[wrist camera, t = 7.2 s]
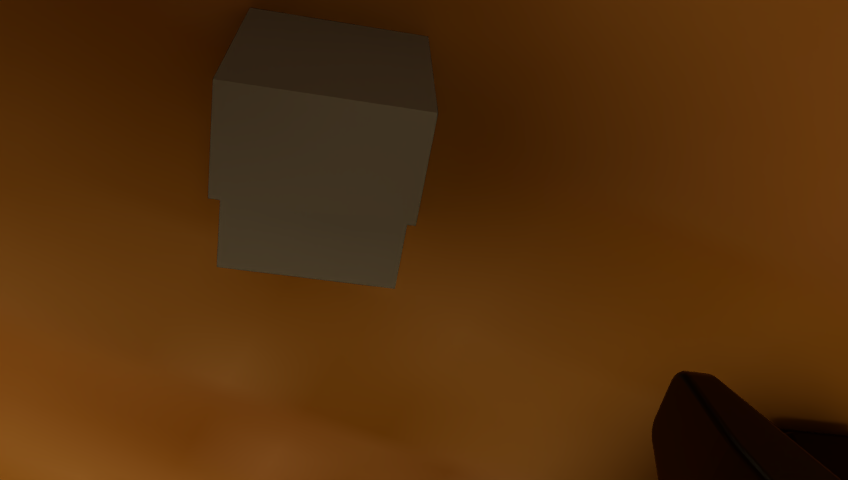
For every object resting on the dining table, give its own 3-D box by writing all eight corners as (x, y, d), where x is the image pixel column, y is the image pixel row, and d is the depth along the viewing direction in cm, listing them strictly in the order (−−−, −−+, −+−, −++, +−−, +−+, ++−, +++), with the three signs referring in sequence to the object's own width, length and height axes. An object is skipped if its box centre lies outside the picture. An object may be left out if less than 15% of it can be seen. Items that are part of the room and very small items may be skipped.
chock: (393, 221, 21) (395, 329, 17) (238, 200, 20) (203, 307, 17) (428, 34, 18) (437, 113, 15) (250, 6, 18) (212, 79, 14)
